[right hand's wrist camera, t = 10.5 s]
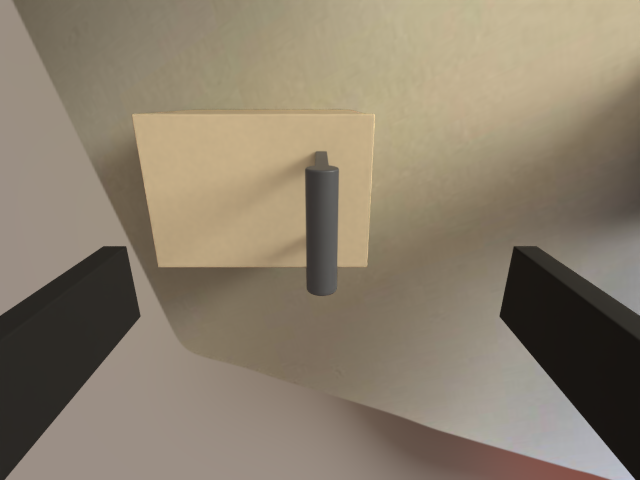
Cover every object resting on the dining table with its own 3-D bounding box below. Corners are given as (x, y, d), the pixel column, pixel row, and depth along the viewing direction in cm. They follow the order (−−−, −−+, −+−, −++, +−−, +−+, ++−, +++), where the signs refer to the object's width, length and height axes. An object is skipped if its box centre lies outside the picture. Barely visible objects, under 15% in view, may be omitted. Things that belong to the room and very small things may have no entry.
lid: (373, 113, 23) (401, 120, 15) (365, 262, 26) (385, 331, 18) (137, 113, 23) (40, 120, 15) (162, 262, 26) (95, 331, 18)
